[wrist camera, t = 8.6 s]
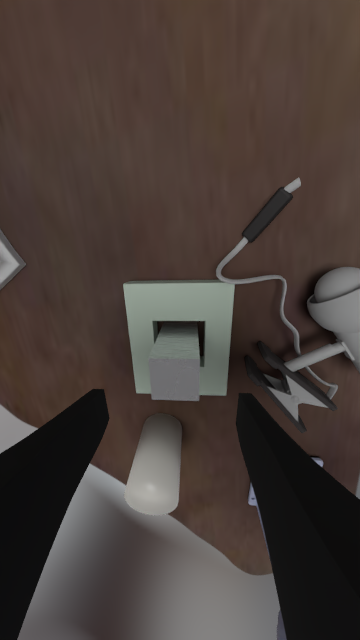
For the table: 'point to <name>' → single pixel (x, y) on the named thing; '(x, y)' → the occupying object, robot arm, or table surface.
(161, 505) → the cream round peg
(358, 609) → the robot arm
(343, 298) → the clip-on lamp
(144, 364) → the socket board
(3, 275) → the molding
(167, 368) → the steel square peg
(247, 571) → the table surface
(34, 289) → the table surface
